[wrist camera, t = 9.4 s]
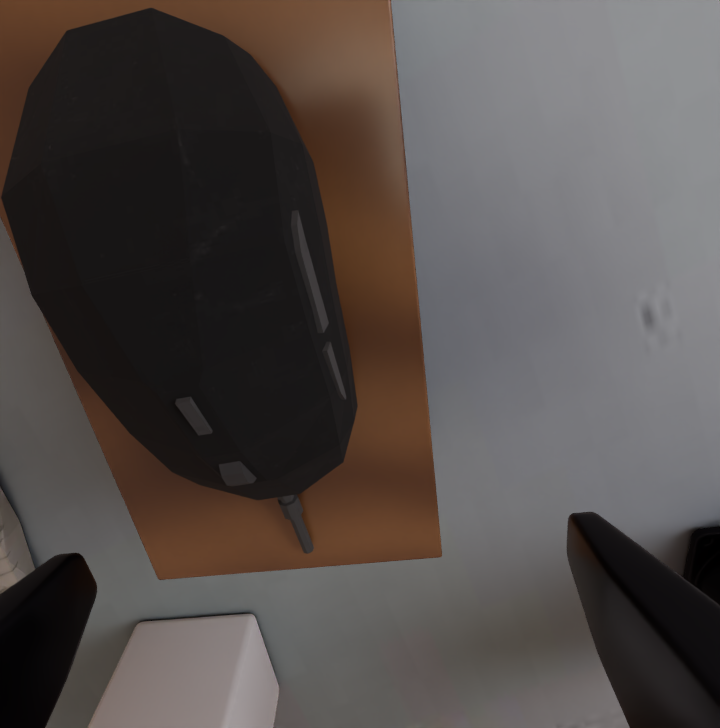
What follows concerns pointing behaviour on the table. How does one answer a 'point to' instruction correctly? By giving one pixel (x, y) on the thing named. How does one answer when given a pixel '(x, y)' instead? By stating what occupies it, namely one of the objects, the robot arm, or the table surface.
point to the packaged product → (12, 547)
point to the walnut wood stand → (353, 278)
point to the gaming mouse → (185, 254)
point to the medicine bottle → (192, 677)
